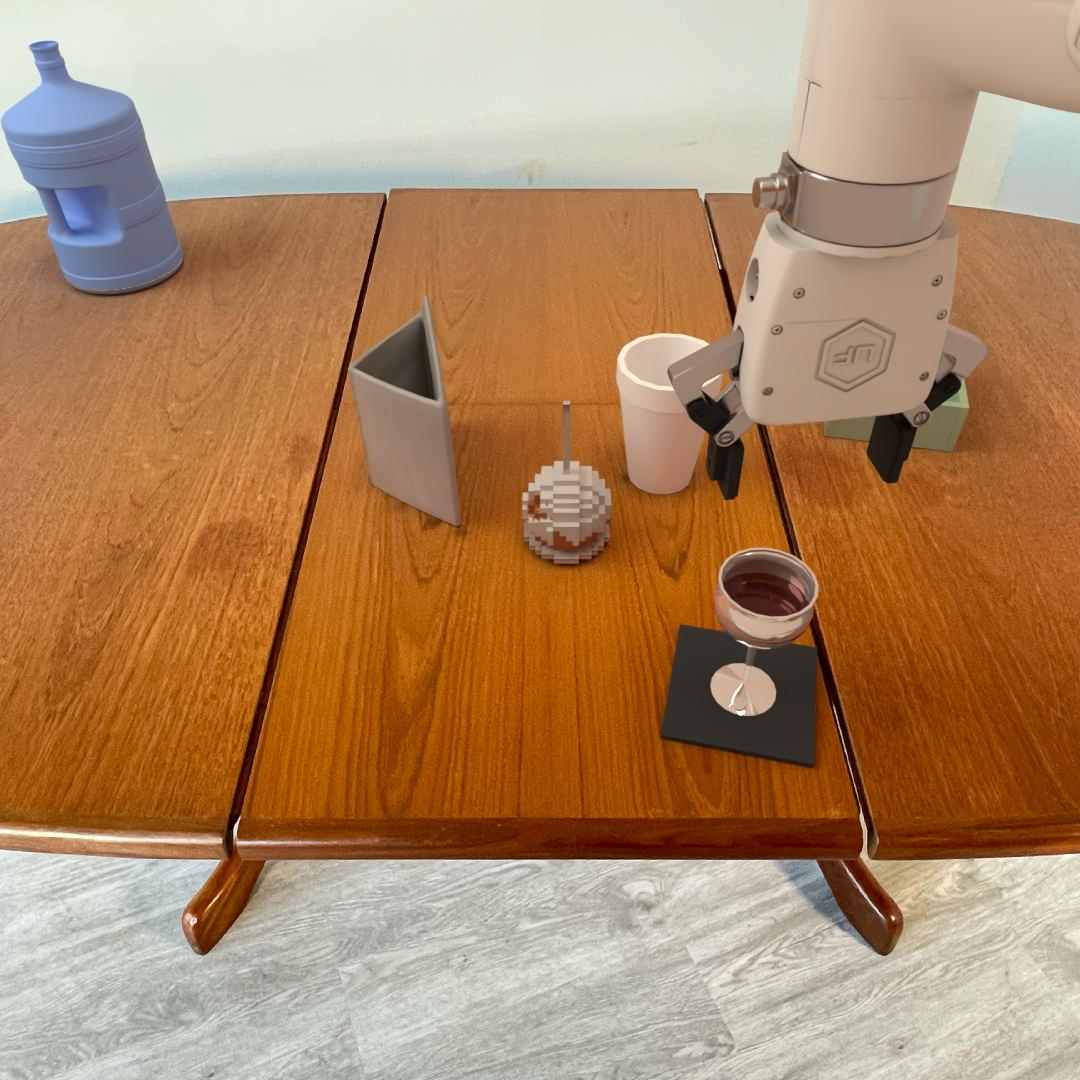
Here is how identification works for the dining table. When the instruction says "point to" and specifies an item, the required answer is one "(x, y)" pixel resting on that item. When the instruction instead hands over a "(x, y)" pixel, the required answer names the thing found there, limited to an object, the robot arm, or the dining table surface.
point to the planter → (408, 418)
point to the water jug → (93, 180)
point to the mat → (710, 725)
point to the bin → (930, 436)
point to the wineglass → (759, 620)
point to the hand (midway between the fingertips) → (802, 477)
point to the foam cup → (658, 413)
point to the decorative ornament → (567, 508)
